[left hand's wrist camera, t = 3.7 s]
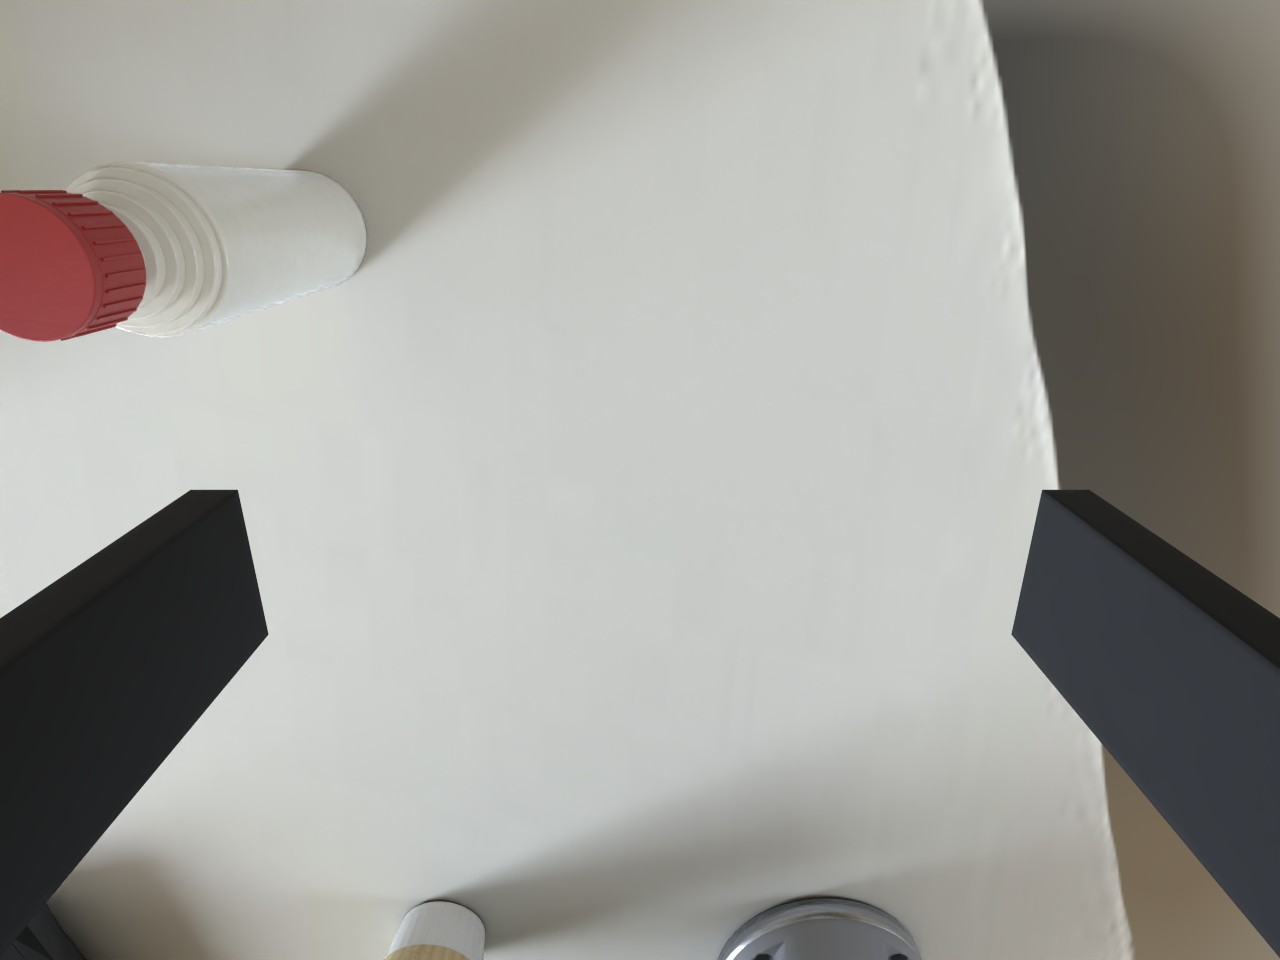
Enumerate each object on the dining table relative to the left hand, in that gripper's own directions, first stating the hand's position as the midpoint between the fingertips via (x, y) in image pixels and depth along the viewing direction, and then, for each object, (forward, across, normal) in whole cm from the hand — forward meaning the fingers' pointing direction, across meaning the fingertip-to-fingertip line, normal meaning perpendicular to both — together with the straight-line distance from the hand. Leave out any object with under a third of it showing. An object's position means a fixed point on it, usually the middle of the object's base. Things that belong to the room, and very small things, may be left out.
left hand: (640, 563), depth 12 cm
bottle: (+28, +16, -4) cm, 33 cm away
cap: (+10, +16, -4) cm, 19 cm away
